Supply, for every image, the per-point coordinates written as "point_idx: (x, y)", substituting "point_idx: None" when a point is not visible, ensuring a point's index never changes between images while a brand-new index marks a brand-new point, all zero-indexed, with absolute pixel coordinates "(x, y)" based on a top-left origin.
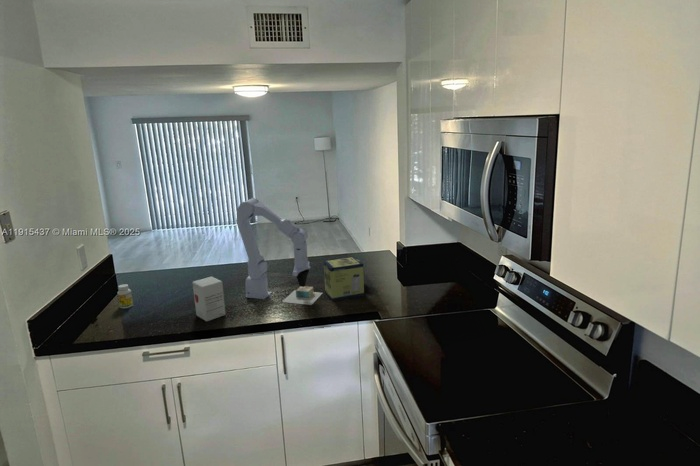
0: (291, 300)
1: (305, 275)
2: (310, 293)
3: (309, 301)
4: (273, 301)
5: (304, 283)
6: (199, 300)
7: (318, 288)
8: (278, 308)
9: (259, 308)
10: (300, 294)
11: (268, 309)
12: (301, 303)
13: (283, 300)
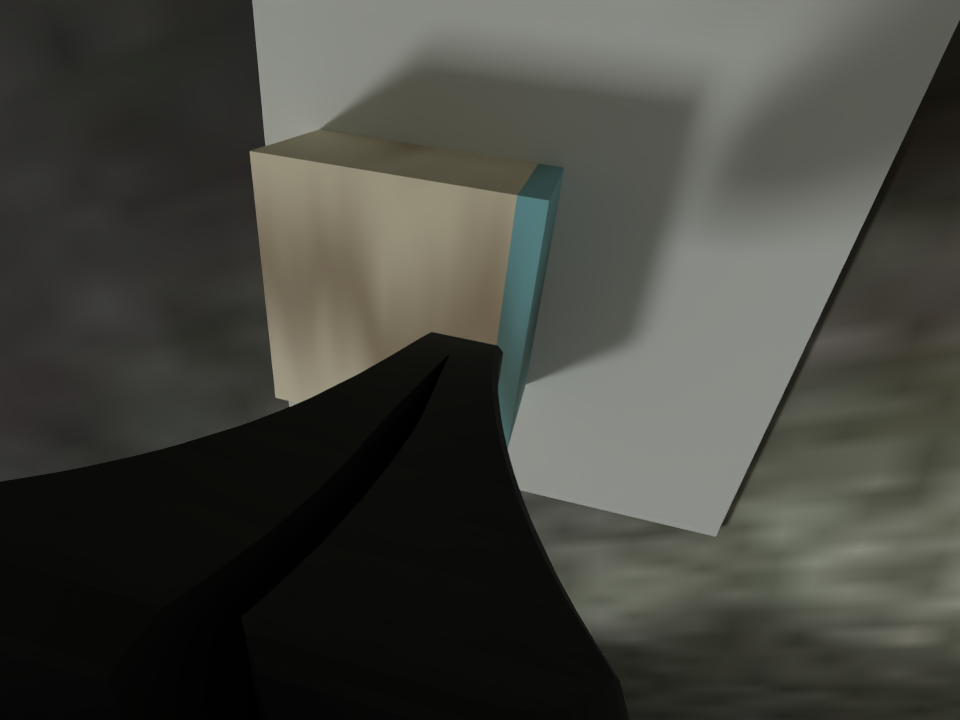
0: (669, 426)
1: (459, 576)
2: (445, 161)
3: (739, 103)
4: (670, 606)
5: (492, 379)
6: None
7: (89, 98)
8: (951, 545)
9: (889, 711)
10: (530, 339)
11: (955, 640)
12: (834, 246)
13: (667, 520)
